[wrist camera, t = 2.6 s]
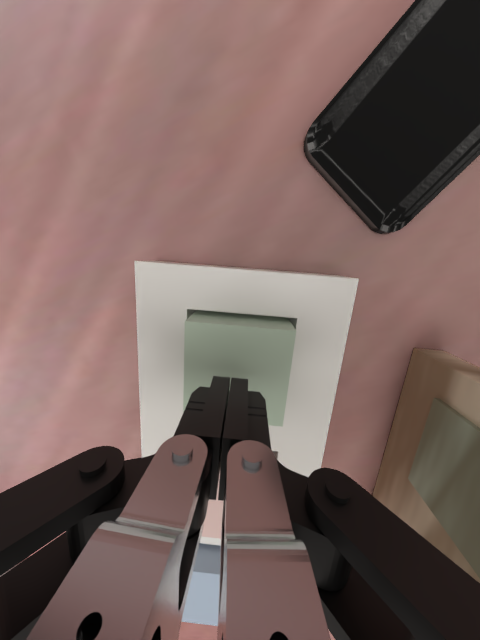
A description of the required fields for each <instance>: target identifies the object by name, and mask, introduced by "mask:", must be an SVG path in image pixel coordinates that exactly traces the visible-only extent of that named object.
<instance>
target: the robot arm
mask: <svg viewBox="0 0 480 640" xmlns="http://www.w3.org/2000/svg"><path fill="white" fill-rule="evenodd" d="M229 388H230V391H229ZM219 474H220V481H219ZM218 481H219V495H218V500H222V501H224V502H223V514H222V527H221V549H220V577H219V606H218V631H217V640H331V639H330V635H329V631H330V632H331V634H332V635H333V636H334V638H335V639H336V640H480V583H479V582H478V581H476V580H475V579H474V578H473V577H471V576H470V575H469V574H468V573H466V572H465V571H464V570H463V569H462V568H460V567H459V566H458V565H457V564H455V563H454V562H453V561H452V560H451V559H449V558H448V557H447V556H446V555H444V554H443V553H442V552H441V551H440V550H438V549H437V548H436V547H435V546H433V545H432V544H431V543H430V542H428V541H427V540H426V539H425V538H424V537H422V536H421V535H420V534H419V533H417V532H416V531H415V530H414V529H413V528H411V527H410V526H409V525H408V524H406V523H405V522H404V521H403V520H401V519H400V518H399V517H398V516H397V515H395V514H394V513H393V512H392V511H390V510H389V509H388V508H387V507H386V506H384V505H383V504H382V503H381V502H379V501H378V500H377V499H376V498H374V497H373V496H372V495H371V494H370V493H368V492H367V491H366V490H365V489H363V488H362V487H361V486H360V485H359V484H357V483H356V482H355V481H354V480H352V479H351V478H350V477H348V476H347V475H345V474H344V473H342V472H340V471H337V470H334V469H330V468H320V469H316V470H315V471H313V472H312V473H311V474H310V476H309V477H306V476H304V475H301V474H299V473H296V472H294V471H291V470H289V469H288V468H286V467H285V466H283V465H282V464H281V463H280V462H279V461H278V460H277V459H276V456H275V454H274V453H273V451H272V450H271V443H270V435H269V426H268V418H267V410H266V401H265V398H264V397H263V396H262V394H261V393H260V392H256V391H248V379H243V378H231V384H230V377H220V376H213V379H212V382H211V385H210V387H201V386H200V387H198V388H197V389H196V390H195V391H194V392H192V394H191V396H190V399H189V401H188V403H187V406H186V408H185V410H184V413H183V415H182V417H181V420H180V422H179V424H178V427H177V429H176V431H175V434H174V436H173V437H171V438H169V439H168V440H166V441H165V442H164V443H163V444H162V445H161V446H160V447H159V449H158V450H157V452H156V453H155V454H153V455H150V456H147V457H142V458H137V459H131V460H126V461H124V455H123V453H122V452H121V451H120V450H119V449H117V448H115V447H111V446H101V447H96V448H92V449H89V450H87V451H85V452H82V453H80V454H78V455H76V456H74V457H72V458H70V459H68V460H66V461H64V462H62V463H60V464H58V465H56V466H54V467H52V468H50V469H48V470H46V471H44V472H42V473H40V474H38V475H36V476H34V477H32V478H30V479H28V480H26V481H24V482H22V483H20V484H18V485H16V486H14V487H12V488H10V489H8V490H6V491H4V492H2V493H0V575H2V574H3V573H5V572H6V571H8V570H9V569H11V568H12V567H14V566H15V565H16V564H18V563H19V562H21V561H22V560H24V559H25V558H27V557H28V556H30V555H31V554H32V553H34V552H35V551H37V550H38V549H40V548H41V547H43V546H44V545H46V544H47V543H49V542H50V541H51V540H53V539H54V538H56V537H57V536H59V535H60V534H62V533H63V532H65V531H66V532H65V533H64V534H62V535H61V536H59V537H58V538H56V539H55V540H54V541H52V542H51V543H49V544H48V545H46V546H45V547H43V548H42V549H40V550H39V551H38V552H36V553H35V554H33V555H32V556H30V557H29V558H27V559H26V560H25V561H23V562H22V563H20V564H19V565H17V566H16V567H14V568H13V569H11V570H10V571H9V572H7V573H6V574H4V575H3V576H1V577H0V640H178V637H179V631H180V626H181V620H182V616H183V611H184V607H185V603H186V599H187V595H188V590H189V586H190V582H191V578H192V574H193V569H194V565H195V561H196V557H197V552H198V548H199V544H200V540H201V536H202V531H203V526H204V520H205V517H206V513H207V507H208V501H209V499H210V500H216V496H217V489H218ZM328 629H329V631H328Z"/></svg>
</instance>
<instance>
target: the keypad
mask: <svg viewBox="0 0 480 640" xmlns="http://www.w3.org/2000/svg"><path fill="white" fill-rule="evenodd" d="M358 281H359V279H357V278H352V277H346V276H340V275H330V274H317V273H304V272H292V271H279V270H267V269H254V268H241V267H229V266H216V265H204V264H191V263H178V262H166V261H135V288H136V315H137V342H138V369H139V396H140V423H141V450H142V457H147V456H150V455H153V454H155V453H156V452H157V450H158V449H159V447H160V446H161V445H162V444H163V443H164V442H165V441H166V440H168V439H169V438H171V437H173V436H174V434H175V431H176V429H177V427H178V424H179V422H180V420H181V417H182V415H183V394H184V334H185V320H187V319H188V318H189V317H190V316H191V315H192V314H193V313H194V312H195V311H196V310H202V311H214V312H226V313H237V314H249V315H261V316H273V317H285V318H288V319H289V320H290V322H291V323H292V325H293V326H294V328H295V330H296V336H295V343H294V350H293V357H292V364H291V371H290V378H289V385H288V392H287V399H286V406H285V413H284V420H283V427H281V426H271V425H268V426H269V435H270V443H271V450H272V451H273V453H274V454H275V456H276V459H277V460H278V461H279V462H280V463H281V464H282V465H283V466H285V467H286V468H288V469H289V470H291V471H294V472H296V473H299V474H301V475H304V476H306V477H309V476H310V474H311V473H312V472H313V471H315V470H316V469H320V468H321V464H322V459H323V454H324V449H325V444H326V439H327V434H328V429H329V424H330V420H331V415H332V410H333V405H334V400H335V395H336V390H337V385H338V380H339V375H340V370H341V365H342V360H343V355H344V350H345V345H346V340H347V335H348V330H349V326H350V321H351V316H352V311H353V306H354V301H355V296H356V291H357V286H358ZM200 543H202V544H211V545H220V546H221V539H220V538H211V537H202V536H201V540H200Z"/></svg>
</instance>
